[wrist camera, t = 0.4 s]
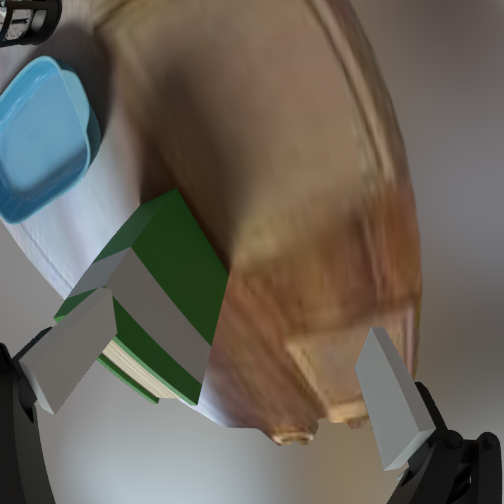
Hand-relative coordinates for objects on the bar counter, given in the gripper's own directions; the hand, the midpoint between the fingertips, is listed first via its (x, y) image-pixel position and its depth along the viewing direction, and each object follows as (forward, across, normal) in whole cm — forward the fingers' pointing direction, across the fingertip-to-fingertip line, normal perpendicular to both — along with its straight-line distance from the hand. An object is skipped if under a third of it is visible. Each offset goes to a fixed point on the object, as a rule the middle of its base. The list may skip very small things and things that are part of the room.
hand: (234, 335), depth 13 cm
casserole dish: (+26, -40, +11) cm, 49 cm away
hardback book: (+32, -12, -6) cm, 34 cm away
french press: (+19, -39, +33) cm, 54 cm away
